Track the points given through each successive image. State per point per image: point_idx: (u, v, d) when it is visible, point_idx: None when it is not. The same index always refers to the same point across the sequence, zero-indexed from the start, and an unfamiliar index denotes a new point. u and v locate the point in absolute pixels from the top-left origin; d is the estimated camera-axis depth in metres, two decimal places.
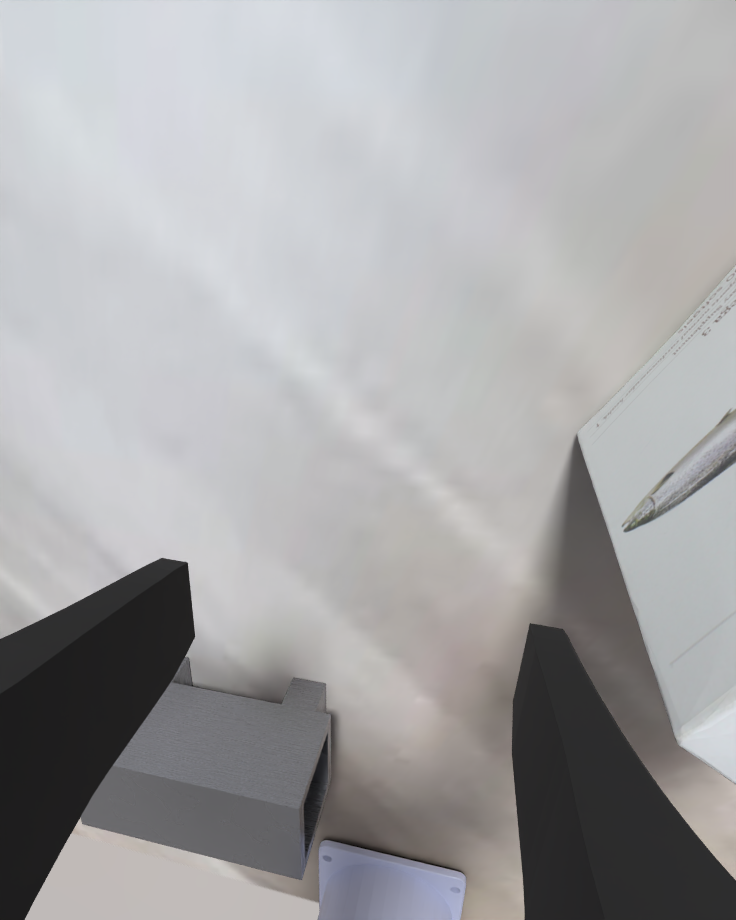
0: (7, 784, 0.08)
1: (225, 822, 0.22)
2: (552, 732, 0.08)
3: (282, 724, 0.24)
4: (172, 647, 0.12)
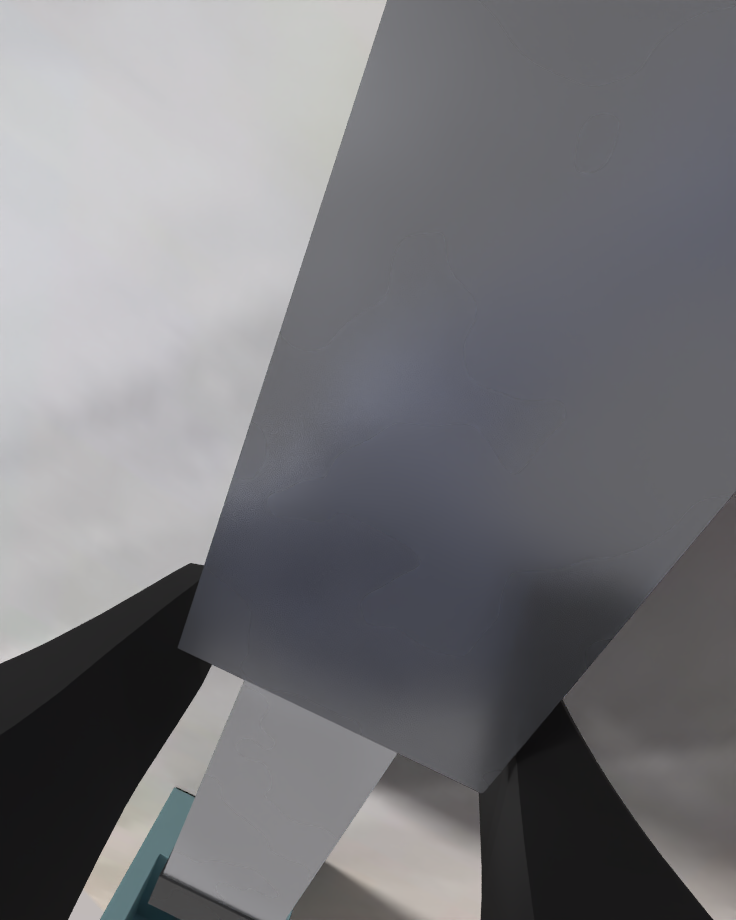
0: (48, 795, 0.08)
1: (594, 146, 0.04)
2: None
3: None
4: None
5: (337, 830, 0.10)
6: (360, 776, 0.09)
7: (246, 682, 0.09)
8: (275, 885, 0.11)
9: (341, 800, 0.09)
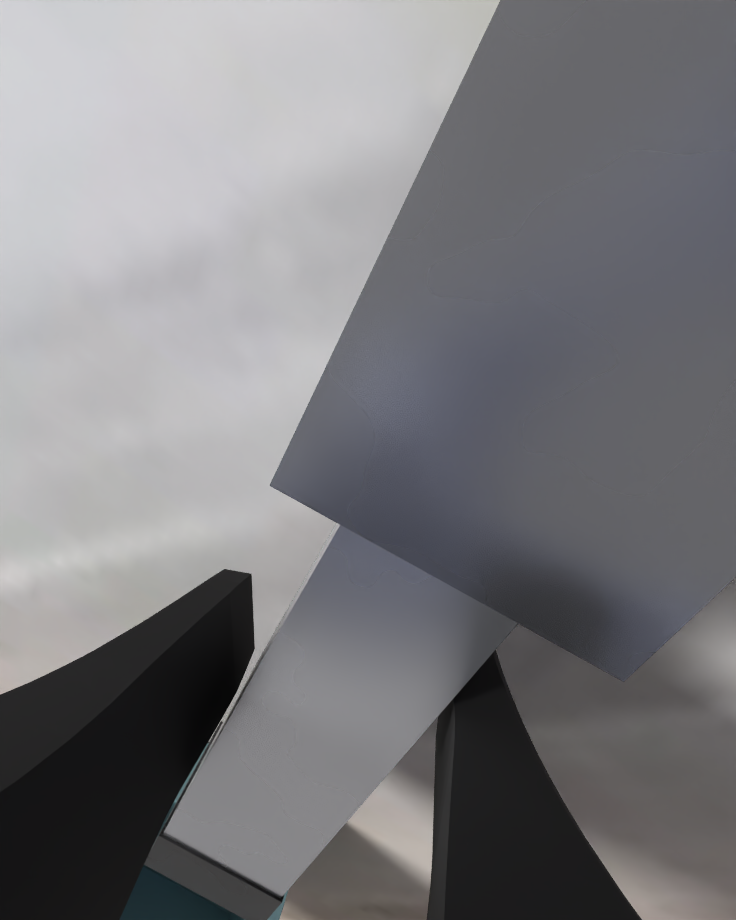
0: (99, 808, 0.08)
1: None
2: (452, 711, 0.08)
3: None
4: (236, 660, 0.11)
5: (361, 794, 0.09)
6: (395, 737, 0.08)
7: (283, 630, 0.08)
8: (284, 850, 0.10)
9: (370, 762, 0.09)
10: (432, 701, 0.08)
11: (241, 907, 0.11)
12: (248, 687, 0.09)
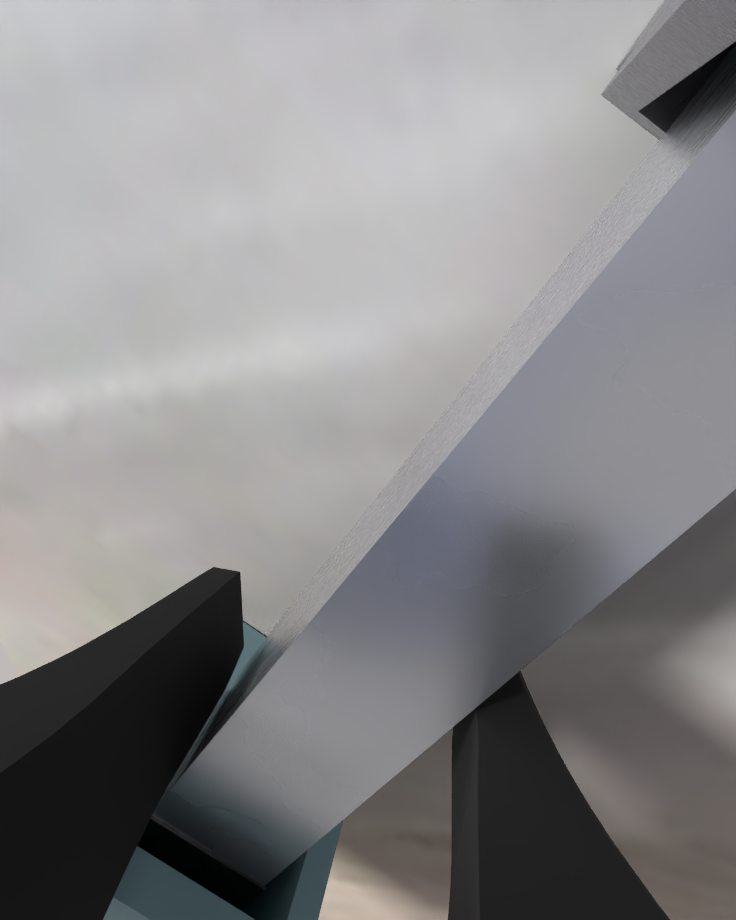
0: (82, 804, 0.08)
1: None
2: (473, 715, 0.08)
3: None
4: (225, 658, 0.11)
5: (365, 791, 0.09)
6: (411, 738, 0.08)
7: (312, 622, 0.08)
8: (276, 840, 0.10)
9: (381, 761, 0.09)
10: (456, 706, 0.08)
11: (221, 892, 0.11)
12: (266, 676, 0.09)
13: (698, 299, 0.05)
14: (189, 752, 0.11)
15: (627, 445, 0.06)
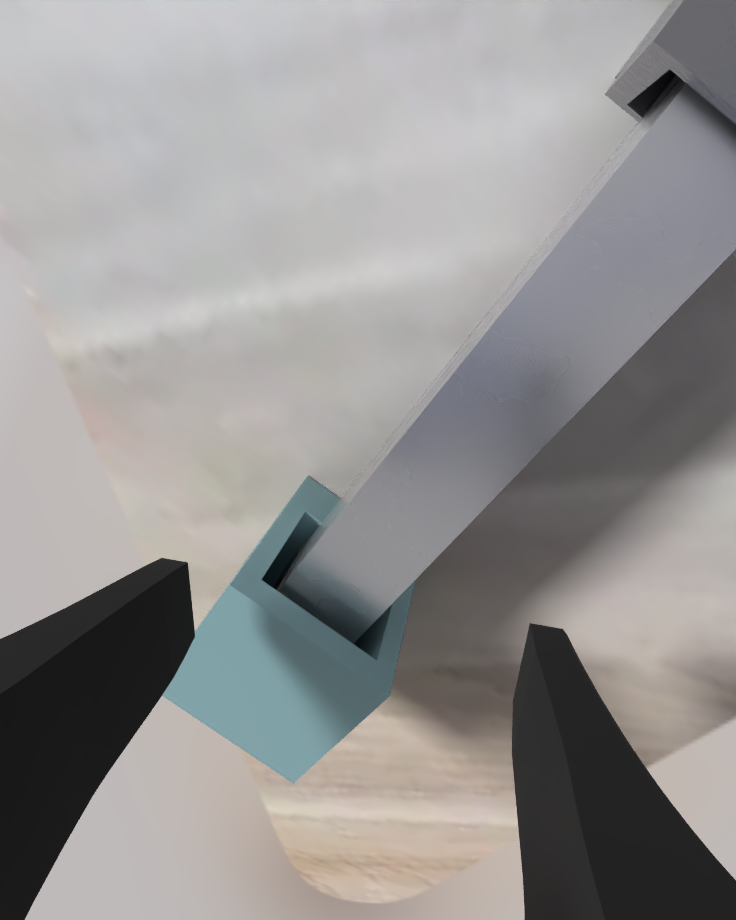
0: (7, 784, 0.08)
1: None
2: (552, 732, 0.08)
3: None
4: (172, 647, 0.12)
5: (432, 556, 0.14)
6: (465, 511, 0.13)
7: (408, 431, 0.13)
8: (367, 602, 0.15)
9: (444, 530, 0.14)
10: (495, 484, 0.13)
11: None
12: (374, 472, 0.14)
13: (636, 222, 0.10)
14: (302, 555, 0.16)
15: (599, 305, 0.11)
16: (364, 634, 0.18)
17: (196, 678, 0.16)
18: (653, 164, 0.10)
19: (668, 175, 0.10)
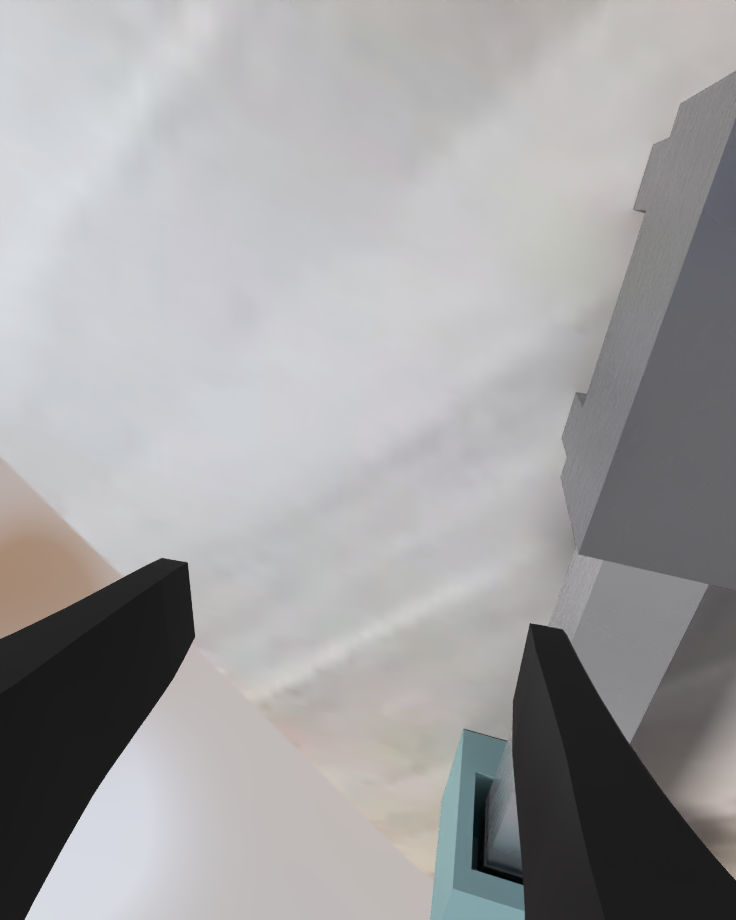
0: (7, 784, 0.08)
1: None
2: (552, 732, 0.08)
3: (662, 189, 0.13)
4: (172, 647, 0.12)
5: None
6: None
7: None
8: None
9: None
10: None
11: None
12: None
13: (621, 609, 0.15)
14: (490, 827, 0.21)
15: (623, 656, 0.16)
16: None
17: None
18: (614, 580, 0.15)
19: (627, 583, 0.15)
